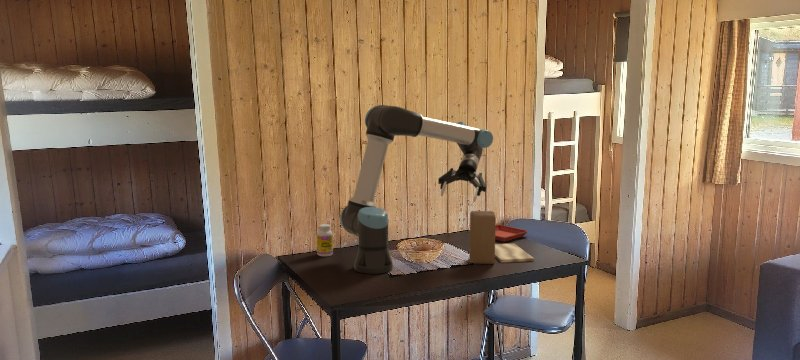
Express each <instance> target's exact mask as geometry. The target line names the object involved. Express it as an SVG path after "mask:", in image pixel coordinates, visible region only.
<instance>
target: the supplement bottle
mask: <svg viewBox="0 0 800 360" xmlns="http://www.w3.org/2000/svg"><path fill="white" fill-rule="evenodd" d="M318 229H319V230H318V231H317V232H316V254H317V255H318V256H319V257H331V256H332V255H333V253H334V249H333V248H334V245H333V241H334V240H333V239H334V237H333V235H334V234H333V231H332V230H331V224H328V223H322V224H319V225H318Z"/></svg>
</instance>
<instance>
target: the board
mask: <svg viewBox="0 0 800 360" xmlns="http://www.w3.org/2000/svg"><path fill="white" fill-rule="evenodd" d="M495 260H497V261H499V262H500V263H518V262H519V263H521V262H534V261H535V257H534V256H532V255H530V254H529V253H528V252H526V251H525V250H524V249H522V248H521V247H520V246H518V245H517V244H516V243H514V242H512V243H498V244H497V243H495Z"/></svg>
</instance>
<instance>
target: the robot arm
mask: <svg viewBox="0 0 800 360" xmlns="http://www.w3.org/2000/svg"><path fill="white" fill-rule="evenodd" d="M364 125H365V126H366V131H365V136H366V138H367V142H366V146H365V151H364V154H363V159H362V161H361V162H362V163H361V166H360V170H359V174H358V178H357V182H356V185H355V189H354V194H353V196H352V197H350V198H349V199H348V202H347V205H346V206H345V207H344V208H343V209H342V210H341V212H340V216H339V221H340V225H341V228H343V229H344V230H345V231H346V232H347V233H349V234H351V235H354V236H355V237H357V239H358V241H357V242H358V243H357V245H358V248H357V249H358V250H357V253H356V257H355V260H354V263H353V269H354V271H356V272H358V273H361V274H369V275H375V274H376V275H378V274H383V273H385V274H386V273H388V272H390V271H392V270H393V268H394V267H393V264H394V263H393V260H392V257H391V254H390V251H389V223H390V222H389V215H388V212H387V211H386V210H385V209H383V208H382V207H381V208H380V207H377V204H376V203H375V198H376V195H377V190H378V186H379V184H380V183H379V182H380V179H381V175H382V172H383V168H384V164H385V160H386V156H387V152H388V148H389V145H390V144H392V143H393V142H394V139H395V136H403V137H404V136H405V137H413V138H417V137H418V136H422V137H426V138H431V139H436V140H440V141H447V142H452V143H456V144H457V145H458V147H459V149H460V151H461V152H462V155H463V156H462V158H461V161H460V163H459V167H458V169H457V170H456V169H454V168H453V167H451V168H450V169H449V170H448V171H447V172H445V173H444V174H443V175H441V176H440V177H438V181H437V183H438V184H439V185H440V189H439V190H440V197H443V196H444V194H445V190H446V188H447V186H448V185H449V184H452V183H453V182H458V181H464V182H469V183H470V184H472V185H473V187H474V188H475V191H474V195H473V203H475V202H476V200H477V198H478V197H480V196H481V193H482V192H484V193H486V192H487V184H486V182H485V180H484V178H483V173H482V172H479V173H476V172H477V170H478V168H479V164H480V161H481V157H482V155H483V152H484V151H483V150H484V149H486V148H490V146H491V145H493V144H492V143H494V142H493V141H494V135H493V133H492V132H491V131H490V130H488V129H485V128H482V129H481V128H478V127H471V126H468V125H467V124H466V123H465V122H464V121H458V122H456V123H454V122H448V121H444V120H440V119H435V118H432V117H425V116H423V115H422V114H421V112H416V111H412V110H409V109H406V108H403V107H401V106H397V105H387V104H385V105H384V104H378V105H375V106H373V107H371V108H370V109H369V110H368V111H367V112H366V114H365V117H364Z"/></svg>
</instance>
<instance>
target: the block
mask: <svg viewBox="0 0 800 360" xmlns="http://www.w3.org/2000/svg"><path fill="white" fill-rule="evenodd" d="M469 215H470V216H469V251H468V252H469V263H470V264H472V263H473V264H472V265H474V264H475V265H476V264H477V265H480V264H481V265H493V264H495V261H496V258H495V244H496V240H495V227H496V225H497V224H496V222H497V219H496V214H495V212H494V211H492V210H489V211H487V210H472V211H470V213H469Z"/></svg>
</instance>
